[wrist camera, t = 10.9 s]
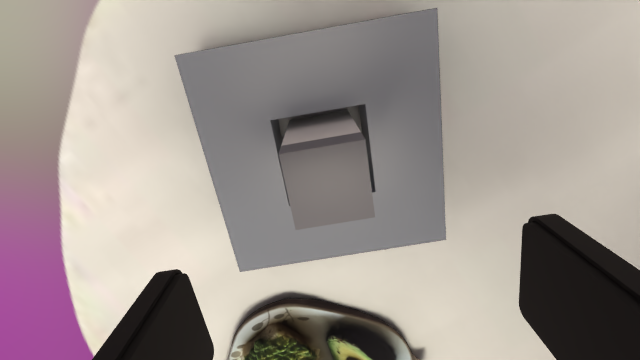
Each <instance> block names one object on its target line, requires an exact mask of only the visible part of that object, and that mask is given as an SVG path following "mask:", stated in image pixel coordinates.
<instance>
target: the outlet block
mask: <svg viewBox="0 0 640 360" xmlns="http://www.w3.org/2000/svg"><path fill="white" fill-rule="evenodd" d="M175 59H176V62H177V65H178V69H179V72H180V75H181V78H182V82H183V85H184V88H185V92H186V95H187V98H188V102H189V105H190V108H191V112H192V115H193V118H194V121H195V125H196V128H197V131H198V135H199V138H200V141H201V145H202V148H203V151H204V154H205V158H206V161H207V164H208V168H209V171H210V174H211V178H212V181H213V184H214V188H215V191H216V194H217V197H218V201H219V204H220V207H221V211H222V214H223V217H224V221H225V224H226V227H227V230H228V234H229V237H230V240H231V244H232V247H233V250H234V254H235V257H236V260H237V264H238V267H239V270H240V272H242V271H249V270H255V269H262V268H268V267H274V266H281V265H287V264H294V263H300V262H306V261H313V260H319V259H326V258H332V257H338V256H345V255H351V254H357V253H364V252H370V251H377V250H383V249H389V248H396V247H402V246H409V245H415V244H421V243H428V242H434V241H441V240H446V226H445V200H444V174H443V147H442V121H441V95H440V68H439V42H438V16H437V8H433V9H428V10H422V11H417V12H411V13H406V14H400V15H395V16H389V17H384V18H378V19H373V20H367V21H362V22H356V23H351V24H345V25H340V26H334V27H329V28H323V29H318V30H312V31H307V32H301V33H296V34H290V35H285V36H279V37H274V38H268V39H262V40H257V41H251V42H246V43H240V44H235V45H229V46H224V47H218V48H213V49H207V50H202V51H196V52H191V53H185V54H180V55H175ZM345 110H348V111H349V113H350V115H351V116H352V118H353V120H354V121H355V123H356V125H357V126H358V128H359V130H360V131H361V133H362V135H363V136H364V138H365V140H366V148H367V156H368V164H369V172H370V180H371V188H372V196H373V204H374V212H375V217H374V218H368V219H362V220H356V221H349V222H343V223H337V224H331V225H325V226H319V227H312V228H306V229H300V230H295V225H294V221H293V216H292V212H291V207H290V203H289V198H288V194H287V189H286V185H285V180H284V176H283V171H282V167H281V162H280V158H279V152H280V149H281V145H282V142H283V139H284V136H285V132H286V129H287V126H288V123H289V120H294V119H299V118H305V117H311V116H317V115H322V114H328V113H334V112H339V111H345Z"/></svg>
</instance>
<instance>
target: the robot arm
mask: <svg viewBox="0 0 640 360" xmlns="http://www.w3.org/2000/svg"><path fill="white" fill-rule="evenodd" d="M519 307H520V310H521V313H522V315H523V317H524V318H525V320H526V321H527V322H528V323H529V325H530V326H531V327H532V329H533V330H534V331H535V332H536V334H537V335H538V336H539V338H540V339H541V340H542V341H543V343H544V344H545V345H546V347H547V348H548V349H549V350H550V352H551V353H552V354H553V356H554V357H555V358H556V359H557V360H640V270H638V269H637V268H635V267H634V266H633V265H631V264H630V263H628V262H627V261H625V260H624V259H622V258H621V257H619V256H618V255H616V254H615V253H613V252H612V251H610V250H609V249H607V248H606V247H604V246H603V245H602V244H600V243H599V242H597V241H596V240H594V239H593V238H591V237H590V236H588V235H587V234H585V233H584V232H582V231H581V230H579V229H578V228H576V227H575V226H574V225H572V224H571V223H569V222H568V221H566V220H565V219H563V218H562V217H560V216H559V215H557V214H548V215H542V216H535V217H531V218H530V219H529V221H528V223H525V224H524V225H523V229H522V250H521V271H520V292H519ZM213 355H214V347H213V343H212V340H211V337H210V335H209V332H208V329H207V326H206V324H205V321H204V318H203V315H202V313H201V310H200V307H199V304H198V302H197V299H196V296H195V293H194V291H193V288H192V285H191V282H190V280H189V277H188V275H187V274H185V273H184V274H182V272H181V271H180V270H178V269H176V270H169V271H162V272H158V273H156V274H155V275H154V276H153V278H152V279H151V280H150V282H149V283H148V284H147V286H146V287H145V288H144V290H143V291H142V293H141V294H140V295H139V297H138V298H137V299H136V301H135V302H134V303H133V305H132V306H131V307H130V309H129V310H128V312H127V313H126V314H125V316H124V317H123V318H122V320H121V321H120V322H119V324H118V325H117V327H116V328H115V329H114V331H113V332H112V333H111V335H110V336H109V337H108V339H107V340H106V341H105V343H104V344H103V346H102V347H101V348H100V350H99V351H98V352H97V354H96V355H95V356H94V358H93V359H92V360H213Z"/></svg>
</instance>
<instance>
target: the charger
mask: <svg viewBox="0 0 640 360" xmlns="http://www.w3.org/2000/svg"><path fill="white" fill-rule="evenodd" d="M279 158H280V162H281V167H282V171H283V176H284V180H285V185H286V189H287V194H288V198H289V203H290V207H291V212H292V216H293V221H294V225H295V230H300V229H306V228H312V227H319V226H325V225H331V224H337V223H343V222H349V221H356V220H362V219H368V218H374V217H375V212H374V204H373V196H372V188H371V180H370V172H369V164H368V156H367V148H366V140H365V138H364V136H363V135H362V133H361V131H360V130H359V128H358V126H357V125H356V123H355V121H354V120H353V118H352V116H351V115H350V113H349V111H348V110H345V111H339V112H334V113H328V114H322V115H317V116H311V117H305V118H299V119H294V120H289V123H288V126H287V129H286V132H285V136H284V139H283V142H282V145H281V149H280V152H279Z"/></svg>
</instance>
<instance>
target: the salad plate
mask: <svg viewBox="0 0 640 360" xmlns="http://www.w3.org/2000/svg"><path fill="white" fill-rule="evenodd" d="M228 360H419V359H417V358H416V357H415V356H414V355H413V354H412V352H411V350H410V348H409V346H408V344H407V342H406V341H405V340H404V338H403V337H402V335H401V334H400V333H398V332H397V330H395V329H394V328H392V327H391V326H390V325H388V324H387V323H385V322H384V321H382V320H380V319H379V318H376V317H374V316H372V315H369V314H366V313H364V312H361V311H359V310H356V309H352V308H348V307H344V306H341V305H337V304H334V303H330V302H326V301H322V300H317V299H303V298H300V299H284V300H280V301H277V302H274V303H271V304H269V305H266V306H264V307H262V308H260V309H258V310H257V311H255V312H254V313H252V314H251V315H250V316H249V317H248V318H246V320H245V321H244V322H243V323H242V325H241V326H240V327H239V329H238V330H237V332H236V334H235V336H234V338H233V341H232V346H231V351H230V355H229V358H228Z"/></svg>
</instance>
